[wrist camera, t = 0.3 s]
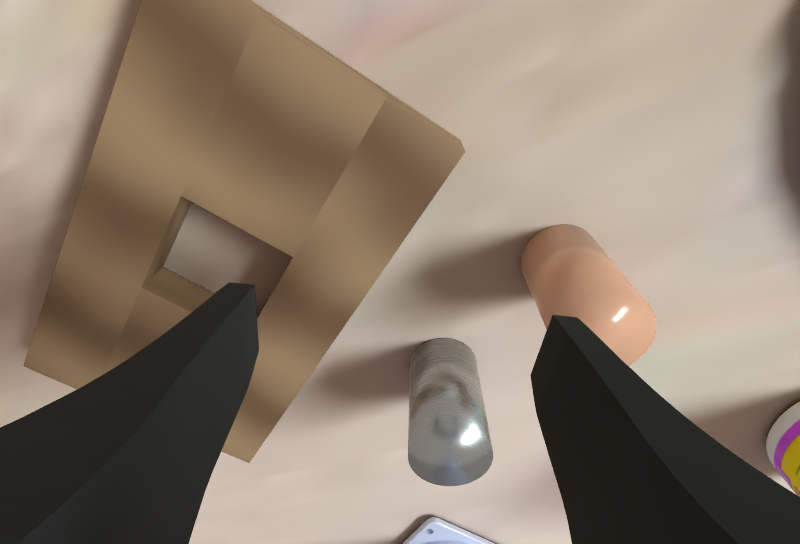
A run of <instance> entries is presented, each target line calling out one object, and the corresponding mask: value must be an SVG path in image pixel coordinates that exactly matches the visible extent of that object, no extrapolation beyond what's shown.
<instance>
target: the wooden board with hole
mask: <svg viewBox="0 0 800 544" xmlns="http://www.w3.org/2000/svg"><path fill="white" fill-rule="evenodd" d="M464 153H465V150H464V148H463V145H462V143H461V140H459V139H458V138H456V137H455V136H453V135H452V134H450V133H449V132H447V131H446V130H444V129H443V128H441V127H440V126H438V125H437V124H435V123H434V122H432V121H431V120H429V119H428V118H426V117H425V116H423V115H422V114H420V113H419V112H417V111H416V110H414V109H413V108H411V107H410V106H408V105H407V104H405V103H404V102H402V101H401V100H399V99H398V98H396V97H395V96H393V95H392V94H390V93H389V92H387V91H386V90H384V89H383V88H381V87H380V86H378V85H377V84H375V83H374V82H372V81H371V80H369V79H368V78H366V77H365V76H363V75H362V74H360V73H359V72H357V71H356V70H354V69H353V68H351V67H350V66H348V65H347V64H345V63H344V62H342V61H341V60H339V59H338V58H336V57H335V56H333V55H332V54H330V53H329V52H327V51H326V50H324V49H323V48H321V47H320V46H318V45H317V44H315V43H314V42H312V41H311V40H309V39H308V38H306V37H305V36H303V35H302V34H300V33H299V32H297V31H296V30H294V29H293V28H291V27H290V26H288V25H287V24H285V23H284V22H282V21H281V20H279V19H278V18H276V17H275V16H273V15H272V14H270V13H269V12H267V11H266V10H264V9H263V8H261V7H260V6H258V5H257V4H255V3H254V2H252V1H251V0H142V1H141V4H140V7H139V10H138V13H137V16H136V20H135V23H134V26H133V29H132V32H131V35H130V38H129V41H128V44H127V47H126V50H125V54H124V57H123V60H122V63H121V66H120V69H119V72H118V75H117V78H116V81H115V84H114V88H113V91H112V94H111V97H110V100H109V103H108V106H107V109H106V112H105V115H104V119H103V122H102V125H101V128H100V131H99V134H98V137H97V140H96V143H95V146H94V149H93V153H92V156H91V159H90V162H89V165H88V168H87V171H86V174H85V177H84V180H83V183H82V187H81V190H80V193H79V196H78V199H77V202H76V205H75V208H74V211H73V214H72V217H71V221H70V224H69V227H68V230H67V233H66V236H65V239H64V242H63V245H62V248H61V251H60V255H59V258H58V261H57V264H56V267H55V270H54V273H53V276H52V279H51V282H50V285H49V289H48V292H47V295H46V298H45V301H44V304H43V307H42V310H41V313H40V316H39V320H38V323H37V326H36V329H35V332H34V335H33V338H32V341H31V344H30V347H29V350H28V354H27V357H26V360H25V363H24V367H27V368H29V369H31V370H34V371H36V372H38V373H41V374H43V375H45V376H48V377H50V378H52V379H55V380H57V381H59V382H62V383H64V384H66V385H69V386H71V387H73V388H76V389H79V388H81V387H83V386H84V385H86V384H88V383H89V382H91V381H93V380H95V379H96V378H98V377H100V376H101V375H103V374H105V373H107V372H108V371H110V370H111V369H113V368H115V367H116V366H118V365H119V364H121V363H123V362H124V361H126V360H127V359H129V358H130V357H132V356H133V355H134V354H136V353H137V352H139V351H140V350H142V349H143V348H144V347H146V346H147V345H149V344H150V343H152V342H153V341H154V340H156V339H157V338H159V337H160V336H162V335H163V334H164V333H166V332H167V331H168V330H169V329H171V328H172V327H173V326H175V325H176V324H177V323H179V322H180V321H181V320H182V319H184V318H185V317H186V316H188V315H189V314H190V313H191V312H193V311H194V310H195V309H196V308H198V307H199V306H200V305H201V304H203V303H204V302H205V301H206V300H208V299H209V298H210V297H211V296H212V295H214V293H212V292H210V291H208V290H206V289H204V288H202V287H201V286H199V285H197V284H195V283H193V282H191V281H189V280H187V279H185V278H183V277H181V276H179V275H177V274H175V273H173V272H171V271H169V270H167V269H165V268H163V265H164V263H165V261H166V258H167V256H168V254H169V252H170V249H171V247H172V245H173V243H174V240H175V238H176V236H177V234H178V231H179V229H180V227H181V225H182V222H183V220H184V218H185V216H186V213H187V211H188V209H189V207H190V204H191V202H193V203H195V204H196V205H198V206H200V207H202V208H204V209H206V210H207V211H209V212H211V213H213V214H215V215H217V216H218V217H220V218H222V219H224V220H226V221H228V222H229V223H231V224H233V225H235V226H237V227H238V228H240V229H242V230H244V231H246V232H248V233H249V234H251V235H253V236H255V237H257V238H259V239H260V240H262V241H264V242H266V243H268V244H270V245H271V246H273V247H275V248H277V249H279V250H281V251H282V252H284V253H286V254H288V255H290V256H291V257H292V258H291V260H290V262H289V264H288V265H287V267H286V269H285V270H284V272H283V274H282V276H281V277H280V279H279V281H278V282H277V284H276V286H275V288H274V289H273V291H272V293H271V294H270V296H269V298H268V300H267V301H266V303H265V305H264V306H263V308H262V310H261V312H260V313H259V315H257V326H258V341H259V352H258V356H257V359H256V363H255V367H254V370H253V374H252V377H251V381H250V384H249V387H248V390H247V392H246V394H245V397H244V399H243V402H242V404H241V406H240V409H239V411H238V413H237V416H236V418H235V420H234V423H233V425H232V427H231V430H230V432H229V434H228V437H227V439H226V441H225V444H224V446H223V448H222V450H221V451H222V452H224V453H227V454H229V455H231V456H234V457H236V458H238V459H241V460H243V461H245V462H248V463H250V461H251V460H252V458H253V457H254V455H255V454H256V453H257V451H258V450H259V448H260V447H261V445H262V444H263V442H264V441H265V440H266V438H267V437H268V435H269V434H270V432H271V431H272V429H273V428H274V427H275V425H276V424H277V422H278V421H279V419H280V418H281V416H282V415H283V414H284V412H285V411H286V409H287V408H288V406H289V405H290V404H291V402H292V401H293V399H294V398H295V396H296V395H297V393H298V392H299V391H300V389H301V388H302V386H303V385H304V383H305V382H306V380H307V379H308V378H309V376H310V375H311V373H312V372H313V370H314V369H315V367H316V366H317V365H318V363H319V362H320V360H321V359H322V357H323V356H324V355H325V353H326V352H327V350H328V349H329V347H330V346H331V344H332V343H333V342H334V340H335V339H336V337H337V336H338V334H339V333H340V331H341V330H342V329H343V327H344V326H345V324H346V323H347V321H348V320H349V318H350V317H351V316H352V314H353V313H354V311H355V310H356V308H357V307H358V306H359V304H360V303H361V301H362V300H363V298H364V297H365V295H366V294H367V293H368V291H369V290H370V288H371V287H372V285H373V284H374V282H375V281H376V280H377V278H378V277H379V275H380V274H381V272H382V271H383V269H384V268H385V267H386V265H387V264H388V262H389V261H390V259H391V258H392V257H393V255H394V254H395V252H396V251H397V249H398V248H399V246H400V245H401V244H402V242H403V241H404V239H405V238H406V236H407V235H408V233H409V232H410V231H411V229H412V228H413V226H414V225H415V223H416V222H417V220H418V219H419V218H420V216H421V215H422V213H423V212H424V210H425V209H426V207H427V206H428V205H429V203H430V202H431V200H432V199H433V197H434V196H435V195H436V193H437V192H438V190H439V189H440V187H441V186H442V184H443V183H444V182H445V180H446V179H447V177H448V176H449V174H450V173H451V171H452V170H453V169H454V167H455V166H456V164H457V163H458V161H459V160H460V158H461V157H462V156H463V154H464Z"/></svg>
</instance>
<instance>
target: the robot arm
mask: <svg viewBox="0 0 800 544" xmlns="http://www.w3.org/2000/svg"><path fill="white" fill-rule="evenodd" d="M258 352H259V341H258V326H257V311H256V296H255V285H248V284H237V283H228V284H227V285H225V286H224V287H223V288H221V289H220V290H219V291H217V292H216V293H215V294H214V295H212V296H211V297H210V298H209V299H208V300H206V301H205V302H204V303H203V304H201V305H200V306H199V307H198V308H196V309H195V310H194V311H193V312H191V313H190V314H189V315H188V316H186V317H185V318H184V319H182V320H181V321H180V322H179V323H177V324H176V325H175V326H173V327H172V328H171V329H169V330H168V331H167V332H166V333H164V334H163V335H162V336H160V337H159V338H157V339H156V340H154V341H153V342H152V343H150V344H149V345H147V346H146V347H144V348H143V349H142V350H140V351H139V352H137V353H136V354H134V355H133V356H132V357H130V358H129V359H127V360H126V361H124V362H123V363H121V364H119V365H118V366H116V367H115V368H113V369H111V370H110V371H108V372H107V373H105V374H103V375H101V376H100V377H98V378H96V379H95V380H93V381H91V382H89V383H88V384H86V385H84V386H83V387H81V388H79V389H77V390H75V391H74V392H72V393H70V394H68V395H66V396H64V397H62V398H60V399H58V400H56V401H54V402H52V403H50V404H48V405H46V406H44V407H42V408H40V409H38V410H36V411H34V412H32V413H30V414H28V415H26V416H24V417H22V418H20V419H18V420H16V421H14V422H12V423H10V424H7V425H5V426H3V427H1V428H0V544H189V540H190V537H191V534H192V531H193V527H194V524H195V521H196V518H197V515H198V512H199V509H200V505H201V502H202V499H203V496H204V493H205V490H206V487H207V485H208V482H209V479H210V477H211V474H212V471H213V469H214V467H215V464H216V462H217V460H218V457H219V455H220V453H221V450H222V448H223V446H224V444H225V441H226V439H227V437H228V434H229V432H230V430H231V427H232V425H233V423H234V420H235V418H236V416H237V413H238V411H239V409H240V406H241V404H242V402H243V399H244V397H245V394H246V392H247V390H248V387H249V384H250V381H251V377H252V374H253V370H254V367H255V363H256V359H257V356H258ZM531 381H532V388H533V395H534V401H535V407H536V413H537V416H538V420H539V423H540V427H541V430H542V434H543V437H544V440H545V444H546V447H547V450H548V454H549V457H550V460H551V463H552V467H553V470H554V473H555V477H556V480H557V483H558V487H559V490H560V493H561V496H562V500H563V504H564V508H565V512H566V515H567V520H568V525H569V530H570V535H571V540H572V544H800V497H799V496H797V495H796V494H794V493H792V492H791V491H789V490H788V489H786V488H784V487H783V486H781V485H780V484H778V483H776V482H775V481H773V480H772V479H770V478H769V477H767V476H766V475H764V474H763V473H761V472H760V471H758V470H757V469H755V468H754V467H752V466H751V465H749V464H748V463H746V462H745V461H743V460H742V459H741V458H739V457H738V456H736V455H735V454H734V453H732V452H731V451H729V450H728V449H726V448H725V447H724V446H722V445H721V444H720V443H718V442H717V441H716V440H714V439H713V438H712V437H711V436H709V435H708V434H707V433H705V432H704V431H703V430H701V429H700V428H699V427H697V426H696V425H695V424H693V423H692V422H691V421H690V420H688V419H687V418H686V417H685V416H684V415H682V414H681V413H680V412H679V411H678V410H676V409H675V408H674V407H673V406H672V405H671V404H669V403H668V402H667V401H666V400H665V399H664V398H662V397H661V396H660V395H659V394H658V393H657V392H656V391H654V390H653V389H652V388H651V387H650V386H649V385H648V384H647V383H646V382H645V381H643V380H642V379H641V378H640V377H639V376H638V375H637V374H636V373H635V372H634V371H633V370H632V369H631V368H630V367H629V366H628V365H626V364H625V363H624V362H623V361H622V360H621V359H620V358H619V357H618V356H617V355H616V354H615V353H614V352H613V351H612V350H611V349H610V348H609V347H608V346H607V345H606V344H605V343H604V342H603V341H602V340H601V339H600V338H599V337H598V336H597V335H596V334H595V333H594V332H593V331H592V330H591V329H590V328H588V327H587V326H586V325H585V324H584V323H583V322H582V321H581V320H580V319H579V318H577V317H570V316H560V315H552V318H551V320H550V323H549V326H548V329H547V331H546V334H545V337H544V340H543V342H542V345H541V348H540V351H539V353H538V356H537V359H536V362H535V364H534V367H533V370H532V373H531ZM402 544H495V543H493V542H491V541H488V540H486V539H484V538H482V537H479V536H477V535H475V534H473V533H470V532H468V531H466V530H464V529H461V528H459V527H457V526H455V525H452V524H450V523H448V522H446V521H443V520H441V519H439V518H436V517H431V518H429V519H427V520H426V521H425V522H424V523H423V524H422V525H421V526H420V527H419V528H418V529H417V530H416V531H415V532H414V533H413V534H412V535H411V536H410V537H409V538H408V539H407V540H406V541H405V542H404V543H402Z"/></svg>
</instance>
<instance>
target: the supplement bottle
mask: <svg viewBox="0 0 800 544" xmlns="http://www.w3.org/2000/svg"><path fill="white" fill-rule="evenodd" d="M766 450H767V454H768V457H769V460H770V461H771V463H772V465H773V466H774V467H775V469H776V470H777V471H778V472H779V474H780V475H781V476H782V477H783V479H784V480H785V481H786V482H787V483H788V485H789V486H790V487H791V488H792V490H793V491H794V492H795V493H796V495H797V496H799V497H800V401H799V402H798V403H796V404H795V405H793V406H792V407H790V408H789V409H788V410H787V411H785V412H784V413H783V414H782V415H781V416H780V417H779V418H778V419H777V420H776V422H775V423H774V425H773V426H772V428H771V429H770V432H769V434H768V437H767V441H766Z"/></svg>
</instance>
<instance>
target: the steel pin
mask: <svg viewBox="0 0 800 544" xmlns="http://www.w3.org/2000/svg"><path fill="white" fill-rule="evenodd" d="M408 460H409V464H410V466H411V468H412V470H413V471H414V472H415V473H416V474H417V475H418V476H419V477H421V478H422V479H424V480H426V481H428V482H430V483H433V484H436V485H442V486H458V485H463V484H467V483H470V482H472V481H474V480H476V479H478V478H480V477H481V476H482V475H484V474H485V473H486V472H487V470H488V469H489V467H490V466H491V463H492V460H493V450H492V445H491V440H490V434H489V429H488V423H487V418H486V412H485V407H484V401H483V396H482V390H481V385H480V379H479V374H478V368H477V363H476V358H475V355H474V353H473V352H472V350H471V349H470V348H469V347H468V346H467V345H465V344H464V343H462V342H460V341H458V340H455V339H450V338H437V339H432V340H430V341H427V342H425V343H423V344H422V345H420V346H419V347H418V348H417V349H416V350H415V351H414V353H413V354H412V356H411V359H410V370H409V435H408Z"/></svg>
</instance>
